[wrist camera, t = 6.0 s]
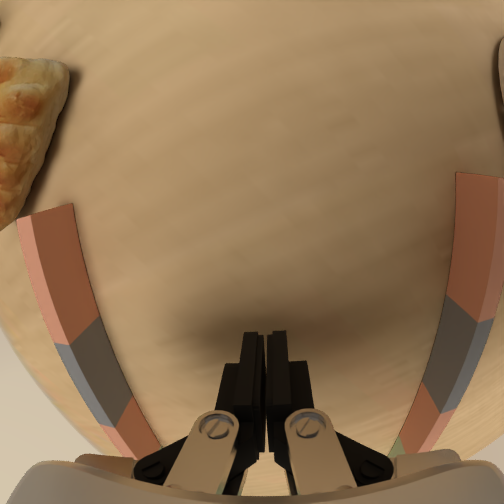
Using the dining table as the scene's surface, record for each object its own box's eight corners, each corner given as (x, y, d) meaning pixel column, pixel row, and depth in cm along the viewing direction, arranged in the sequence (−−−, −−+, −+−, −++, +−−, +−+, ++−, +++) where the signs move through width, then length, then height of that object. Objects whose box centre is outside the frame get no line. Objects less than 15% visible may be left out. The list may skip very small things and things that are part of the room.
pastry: (42, 239, 11) (-7, 262, 8) (-15, 207, 11) (-56, 220, 7) (86, 62, 9) (37, 40, 5) (16, 64, 8) (-25, 55, 5)
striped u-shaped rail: (472, 173, 9) (514, 179, 6) (376, 488, 18) (380, 509, 15) (57, 207, 11) (15, 219, 8) (186, 496, 20) (181, 516, 17)
